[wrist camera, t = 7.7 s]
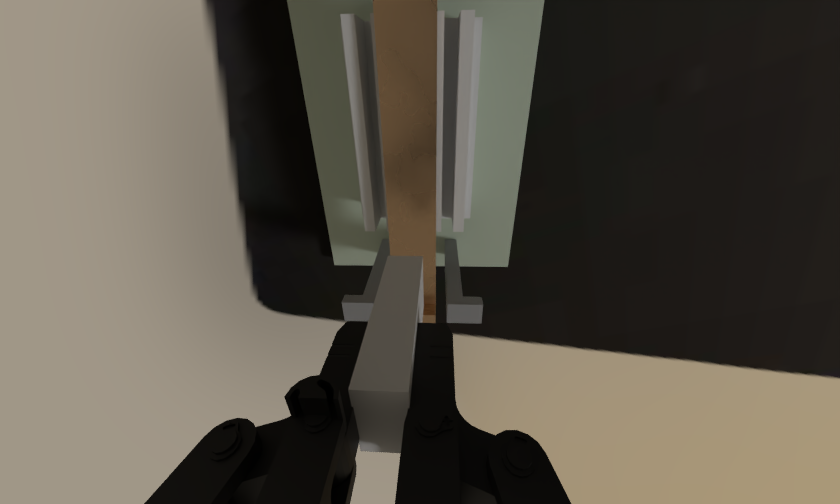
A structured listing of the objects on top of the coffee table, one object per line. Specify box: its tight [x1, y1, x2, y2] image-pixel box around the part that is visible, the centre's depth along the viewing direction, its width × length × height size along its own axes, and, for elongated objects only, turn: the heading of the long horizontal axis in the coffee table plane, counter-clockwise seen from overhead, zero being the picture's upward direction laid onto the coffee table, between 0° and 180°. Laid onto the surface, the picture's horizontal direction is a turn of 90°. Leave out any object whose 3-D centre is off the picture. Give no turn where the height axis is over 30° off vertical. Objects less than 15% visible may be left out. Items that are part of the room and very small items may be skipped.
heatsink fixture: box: [287, 0, 544, 323], centre depth 20 cm, size 24×16×10 cm, turn 1°
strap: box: [373, 0, 437, 323], centre depth 18 cm, size 22×3×2 cm, turn 1°
